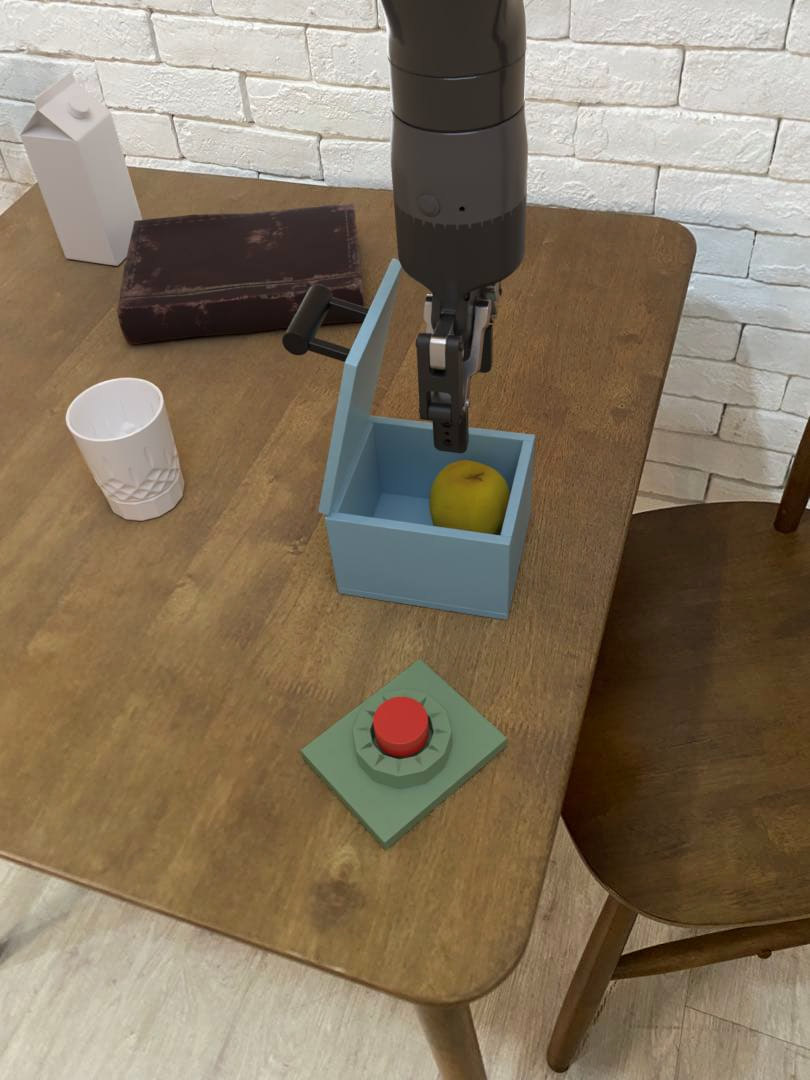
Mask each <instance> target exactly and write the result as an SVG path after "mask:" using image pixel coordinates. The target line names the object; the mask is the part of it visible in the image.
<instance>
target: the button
mask: <svg viewBox="0 0 810 1080" xmlns="http://www.w3.org/2000/svg"><path fill="white" fill-rule="evenodd" d="M373 725H374V731H375V737H376V741H377V743H378V745H379V747H380V748H381V749H382V750H383V751H384V752H386V753H387V754H389V755H392V756H395V757H407V756H411V755H413V754H415V753H417V752H419V751H420V750H421V749H422V748H423V747H424V746H425V744H426V742H427V740H428V736H429V727H428V716H427V713H426V710H425V708H424V707H423V706H422V705H421V704H420V703H419V702H418V701H416V700H414V699H412V698H409V697H394V698H391V699H389V700H387V701H385V702H384V703H382V704H381V705H380V706H379V707H378V709H377V710H376V712H375V714H374V718H373Z"/></svg>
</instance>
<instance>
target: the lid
mask: <svg viewBox="0 0 810 1080" xmlns="http://www.w3.org/2000/svg"><path fill="white" fill-rule="evenodd" d="M402 270H403V268H402V266H401V264H400V262H399V259H397V258H392V259H391V261H390V263H389V265H388V268H387V270H386V271H385V274H384V276H383V278H382V280H381V283H380V285H379V286H378V289H377V291H376V294H375V296H374V298H373V300H372V303H371V305H370V307H366V306H365V307H362V306H359V305H356V304H353V303H349V302H346V301H343V300H340V299H337V298H334V297H333V295H332V293H331V291H330V290H329V289H328V288H327V287H325V286H323V285H313V286H311V287H310V288H309V290H308V292H307V294H306V295H305V297H304V299H303V301H302V303H301V305H300V307H299V308H298V310H297V312H296V314H295V316H294V318H293V319H292V321H291V323H290V325H289V327H287V328H286V331H285V332H284V334H283V336H282V339H281V343H282V346H283V347H284V349H285V350H286V351H287V352H288V353H289V354H291V355H294V356H304V355H305V354H307V353H308V352H311V353H315V354H318V355H321V356H324V357H328V358H331V359H334V360H336V361H340V362H344V364H343V371H342V375H341V382H340V388H339V393H338V400H337V405H336V410H335V415H334V421H333V427H332V433H331V438H330V444H329V449H328V454H327V461H326V466H325V470H324V477H323V483H322V488H321V495H320V500H319V505H318V513H319V514H321V515H325V516H326V515H329V513H330V511H331V508H332V506H333V503H334V501H335V499H336V496H337V494H338V491H339V489H340V486H341V484H342V481H343V479H344V476H345V474H346V472H347V469H348V467H349V464H350V462H351V459H352V457H353V454H354V452H355V450H356V447H357V445H358V442H359V440H360V437H361V435H362V432H363V430H364V427H365V425H366V423H367V420H368V418H369V415H370V416H371V413H372V409H373V404H374V399H375V395H376V389H377V385H378V381H379V376H380V372H381V368H382V364H383V359H384V358H383V357H384V354H385V350H386V349H385V348H386V345H387V341H388V335H389V330H390V326H391V320H392V317H393V313H394V308H395V304H396V300H397V299H396V298H397V293H398V290H399V285H400V280H401V276H402ZM328 310H329V311H332V312H335V313H339V314H342V315H345V316H348V317H351V318H354V319H358V320H361V321H360V322H362V324H361V326H360V329H359V330H358V332H357V336H356V337H355V339H354V341H353V344H352V346H351V348H349V347H347V346H343V345H339V344H337V343H333V342H332V341H331V342H330V341H327V340H325V339H321V338H318V337H316V336H317V334H318V332H319V331H320V328H321V325H323V324H322V322H323V320H324V318H325V316H326V314H327V312H328Z"/></svg>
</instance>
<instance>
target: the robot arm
mask: <svg viewBox="0 0 810 1080" xmlns="http://www.w3.org/2000/svg"><path fill="white" fill-rule="evenodd" d="M379 3H380V5H381V8H382V11H383V15H384V19H385V24H386V25H385V26H386V54H387V66H388V80H389V92H390V107H391V113H390V115H391V123H390V136H389V137H390V139H389V140H390V141H389V156H390V169H391V170H390V171H391V182H392V196H393V208H394V221H395V233H396V246H397V257H398V260H399V262H400V264H401V266H402V270H403V271H404V272H405V274H406V275H407V276H409V277H410V279H412V280H414V281H416V282H418V283H419V284H421V285H423V287H425V288H426V289H427V290H429V291H430V293H431V294H429V293H427V294H426V296H425V299H424V304H423V305H424V308H423V315H422V317H423V321H424V322H425V324H426V325H425V326H426V327H425V332H422V331H420V332H418V334H417V338H416V339H415V348H416V363H417V364H416V365H417V383H418V384H417V385H418V387H417V388H418V415H419V419H420V421H429V422H432V423H433V439H434V447H435V448H436V449H437V450H439V451H445V452H453V453H464V452H466V450H467V447H468V443H469V427H470V426H469V408H470V407H471V399H470V396H471V395H470V394H471V385H472V378H473V377H474V376H475V375H477V374H479V373H480V374H487V373H489V372H490V371H491V370H492V366H493V364H494V363H493V362H494V361H493V359H494V358H493V357H494V355H493V353H494V352H493V351H494V350H493V348H494V345H493V344H494V341H493V340H494V324H495V322H496V319H497V318H498V314H499V313H498V311H499V305H500V298H501V297H502V295H503V288H502V281H503V280H505V279H507V278H509V277H510V276H511V275H513V273H514V272H515V271H517V269H518V268H519V267H520V265H521V264H522V262H523V260H524V257H525V253H526V228H527V227H526V225H527V202H528V201H527V200H528V199H527V196H528V169H529V167H528V165H529V138H528V137H529V135H528V126H527V125H528V124H527V118H526V86H527V85H526V83H527V77H526V76H527V50H528V47H527V45H528V44H527V42H528V41H527V38H528V37H527V36H528V35H527V31H528V29H527V28H528V27H527V26H528V25H527V11H526V4H525V0H379Z"/></svg>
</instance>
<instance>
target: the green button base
mask: <svg viewBox="0 0 810 1080" xmlns="http://www.w3.org/2000/svg"><path fill="white" fill-rule="evenodd" d="M394 697H409V698H412V699H414V700H416V701H418V702H419V703H420V704H421V705H422V706H423V707H424V708H425V710H426V713H427V716H428V727H429V736H428V740H427V742H426V744H425V746H424V747H423V748H422V749H421V750H420V751H419V752H417V753H415V754H413V755H411V756H407V757H395V756H392V755H389V754H387V753H386V752H384V751H383V750H382V749H381V748H380V747H379V745H378V743H377V741H376V737H375V731H374V725H373V718H374V714H375V712H376V710H377V709H378V707H379V706H380V705H381V704H382V703H384V702H385V701H387V700H389V699H391V698H394ZM507 746H508V738H507V736H506V735H505V734H504V733H502V732H501V731H500V730H499V729H498V728H497V727H496V726H494V724H493V723H491V721H489V720H488V719H487V718H486V717H485V716H484V715H483V714H481V712H479V710H477V709H476V708H475V707H474V706H473V705H472V704H471V703H469V702H468V701H467V699H465V698H464V697H463V696H462V695H461V694H459V693H458V692H457V691H456V690H455V689H454V688H453V687H452V686H451V685H450V684H449V683H447V682H446V680H444V679H443V678H442V677H441V676H440V675H438V674H437V673H436V672H435V671H434V670H433V669H432V668H431V667H430V666H429V665H428V664H427V663H425V661H423V660H422V659H421V658H419V659H417V660H416V661H415V662H413V663H412V664H411V665H409V666H408V667H407V668H405V669H404V670H403V671H401V672H400V673H399V674H398V675H397V676H395V677H394V678H393V679H391V680H390V681H388V682H387V683H386V684H385V685H382V687H381V688H379V689H378V690H377V691H376V692H374V693H373V694H371V695H370V696H369V697H368V698H366V699H365V700H363V702H361V703H360V704H359V705H357V706H356V707H354V708H353V709H352V710H350V711H349V712H348V713H347V714H346V715H344V716H342V718H340V719H339V720H337V721H336V722H335V723H334V724H332V725H331V726H330V727H328V728H327V729H326V730H324V731H323V732H322V733H321V734H319V735H318V736H316V737H315V738H314V739H313V740H311V741H310V742H309V743H308V744H307V745H304V747H302V748H301V749H300V753H301V757H302V759H303V761H305V763H306V764H307V765H308V766H309V767H310V768H311V769H312V771H313V772H314V773H315V774H316V775H317V776H318V777H319V778H320V780H322V781H323V783H324V784H325V785H326V787H328V788H329V789H330V791H331V792H332V793H333V794H334V795H335V796H336V797H337V798H338V799H339V801H341V802H342V804H343V805H344V806H345V807H346V808H347V809H348V811H349V812H351V814H352V815H353V816H354V817H355V818H356V819H357V820H358V822H359V823H360V824H361V825H362V826H363V827H364V828H365V829H366V830H367V831H368V832H369V834H371V836H372V837H373V838H374V839H375V841H377V842H378V843H379V845H380V846H381V847H382V848H383V850H385V851H387V850H388V849H389V848H390V847H392V846H393V845H394V844H395V843H396V842H398V840H400V839H401V838H402V837H403V836H404V835H406V834H407V833H408V832H409V831H410V830H411V829H412V828H414V827H415V826H416V825H417V824H419V823H420V822H421V821H422V820H423V819H424V818H425V817H427V816H428V815H429V814H430V813H431V812H432V811H433V810H435V809H436V808H437V807H438V806H440V805H441V804H442V803H443V802H444V801H445V800H446V799H448V798H449V797H450V796H451V795H452V794H453V793H454V792H455V791H457V790H458V789H459V788H460V787H461V786H462V785H464V784H465V783H466V782H467V781H468V780H469V779H471V778H472V777H473V776H474V775H475V774H476V773H478V772H479V771H480V770H482V769H483V768H484V767H485V766H486V765H487V764H488V763H489V762H490V761H492V760H493V759H494V758H495V757H497V755H499V754H500V753H501V752H502V751H503V750H505V749H506V748H507Z"/></svg>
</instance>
